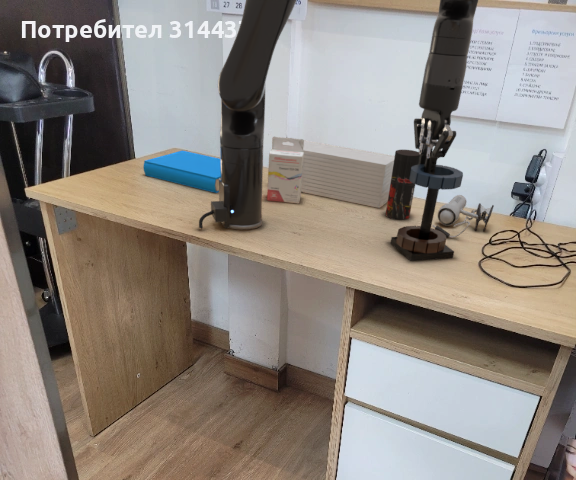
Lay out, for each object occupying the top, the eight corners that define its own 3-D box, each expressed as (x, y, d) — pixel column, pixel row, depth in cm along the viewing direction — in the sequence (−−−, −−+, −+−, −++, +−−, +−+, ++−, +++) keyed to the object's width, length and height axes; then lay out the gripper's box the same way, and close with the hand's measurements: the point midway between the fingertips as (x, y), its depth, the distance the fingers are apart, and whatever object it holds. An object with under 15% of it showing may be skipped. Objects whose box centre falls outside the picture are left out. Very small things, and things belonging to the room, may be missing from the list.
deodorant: (409, 220, 136) (420, 156, 127) (384, 218, 137) (394, 154, 128) (409, 213, 141) (421, 151, 132) (386, 210, 141) (396, 148, 133)
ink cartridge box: (266, 201, 143) (268, 140, 134) (269, 195, 147) (271, 135, 138) (299, 203, 142) (303, 143, 134) (301, 198, 146) (305, 138, 138)
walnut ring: (409, 254, 114) (411, 244, 113) (388, 236, 122) (389, 227, 121) (452, 251, 117) (455, 241, 116) (429, 234, 125) (431, 224, 123)
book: (181, 150, 165) (251, 163, 155) (182, 165, 167) (251, 179, 158) (141, 161, 153) (215, 176, 143) (143, 177, 155) (215, 193, 145)
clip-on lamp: (466, 256, 127) (494, 219, 137) (474, 232, 122) (502, 196, 132) (420, 239, 131) (449, 205, 141) (425, 215, 126) (455, 181, 136)
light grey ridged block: (392, 198, 150) (399, 156, 144) (379, 208, 143) (385, 164, 136) (288, 177, 162) (290, 137, 155) (271, 185, 154) (272, 144, 147)
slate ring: (424, 190, 107) (426, 178, 105) (400, 175, 115) (402, 164, 113) (470, 188, 109) (472, 177, 108) (444, 174, 117) (446, 163, 116)
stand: (410, 261, 115) (424, 190, 107) (390, 243, 123) (401, 176, 114) (452, 258, 118) (469, 189, 109) (430, 240, 125) (444, 174, 117)
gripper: (408, 75, 109) (394, 167, 119) (443, 86, 99) (424, 185, 109) (442, 76, 111) (425, 166, 121) (480, 87, 101) (458, 184, 111)
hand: (425, 175), depth 115 cm, fingers closed on slate ring, 2 cm apart
